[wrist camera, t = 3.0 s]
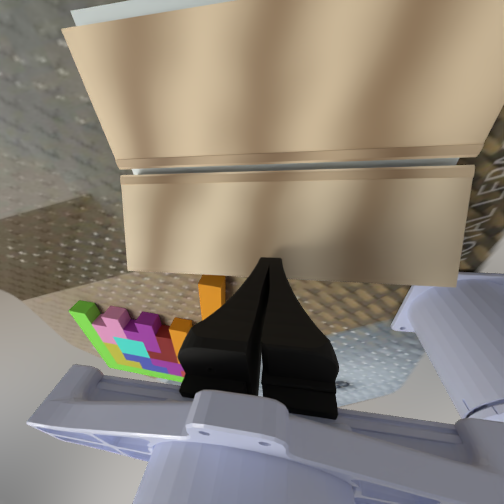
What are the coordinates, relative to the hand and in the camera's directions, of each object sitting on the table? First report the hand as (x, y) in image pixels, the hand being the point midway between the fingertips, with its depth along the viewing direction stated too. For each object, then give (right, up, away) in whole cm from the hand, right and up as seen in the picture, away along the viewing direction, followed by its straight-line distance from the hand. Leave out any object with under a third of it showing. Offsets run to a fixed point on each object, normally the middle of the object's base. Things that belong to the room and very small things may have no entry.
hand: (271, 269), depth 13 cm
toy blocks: (-14, -9, +17) cm, 24 cm away
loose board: (0, +3, +1) cm, 3 cm away
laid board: (0, +10, -1) cm, 10 cm away
